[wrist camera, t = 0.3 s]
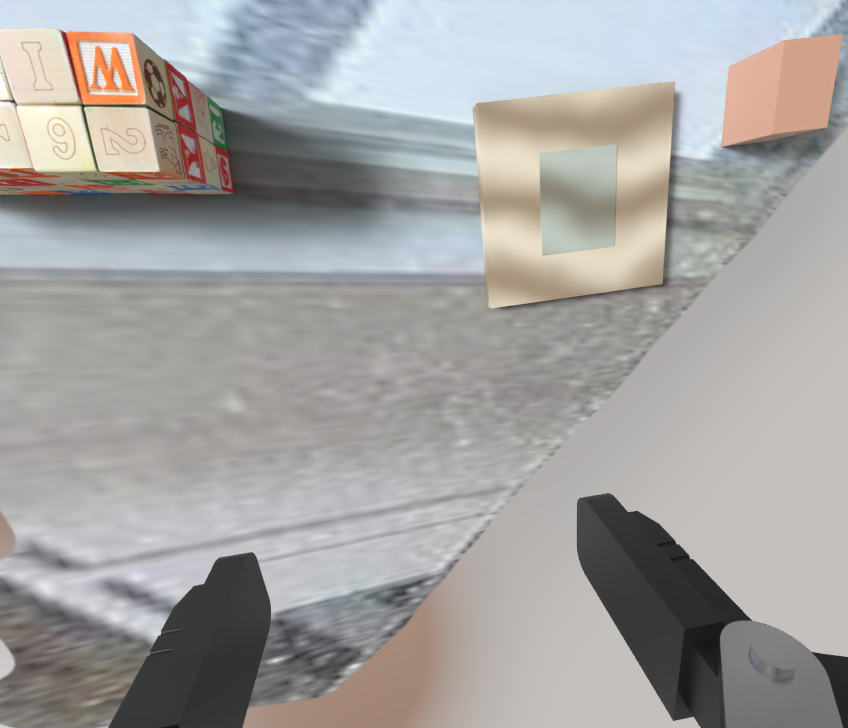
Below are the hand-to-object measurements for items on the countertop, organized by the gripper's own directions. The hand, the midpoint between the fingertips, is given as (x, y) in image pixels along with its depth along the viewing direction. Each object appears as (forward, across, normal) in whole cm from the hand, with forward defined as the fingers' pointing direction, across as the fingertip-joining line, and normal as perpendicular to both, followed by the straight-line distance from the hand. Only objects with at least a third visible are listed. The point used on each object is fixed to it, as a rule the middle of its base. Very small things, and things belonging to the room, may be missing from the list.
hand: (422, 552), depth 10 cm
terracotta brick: (+29, -33, -14) cm, 46 cm away
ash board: (+29, -17, -8) cm, 34 cm away
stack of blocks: (+29, +21, -16) cm, 39 cm away
